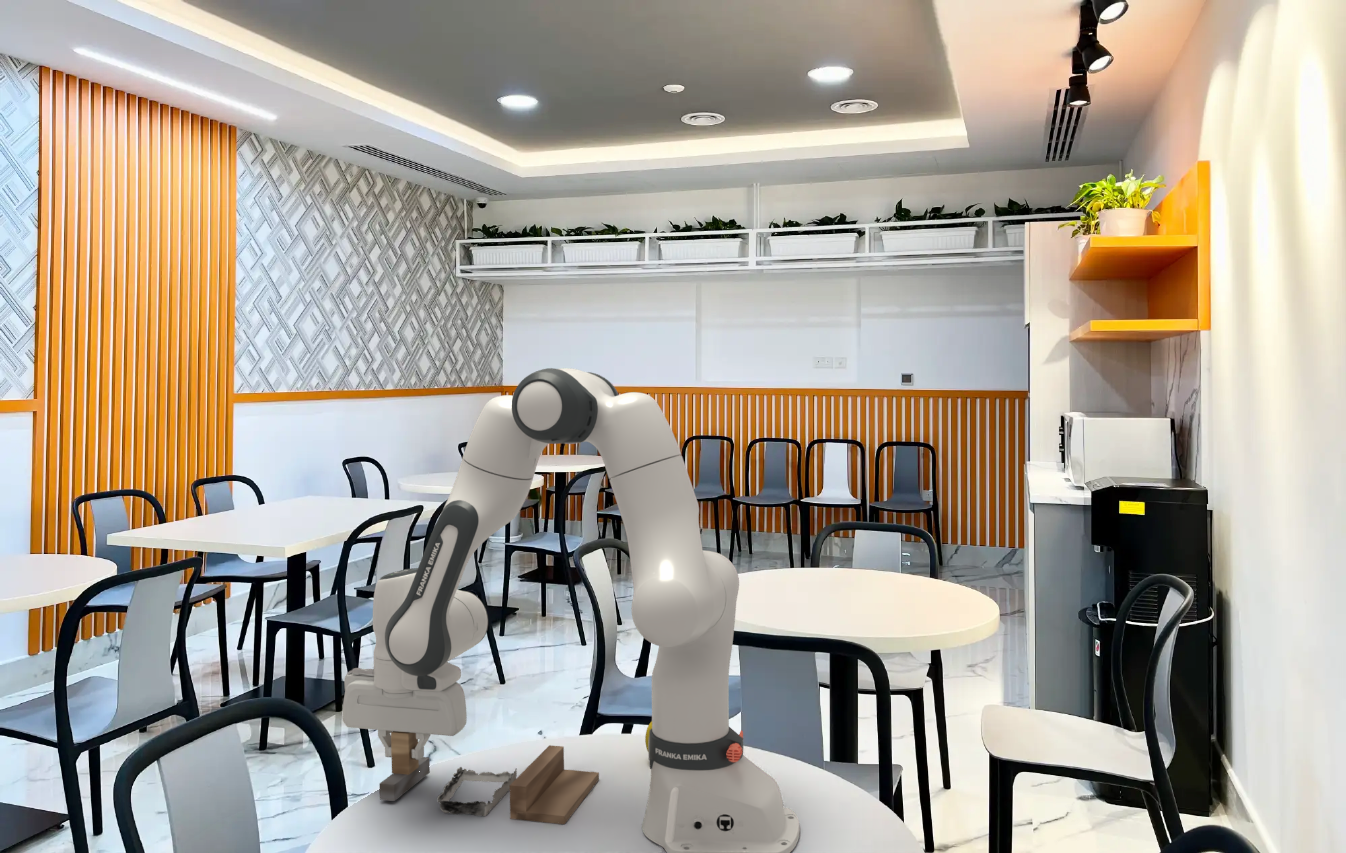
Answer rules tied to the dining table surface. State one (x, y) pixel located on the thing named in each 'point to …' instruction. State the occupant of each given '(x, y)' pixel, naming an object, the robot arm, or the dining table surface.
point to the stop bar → (549, 789)
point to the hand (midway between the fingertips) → (404, 757)
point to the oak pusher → (403, 767)
